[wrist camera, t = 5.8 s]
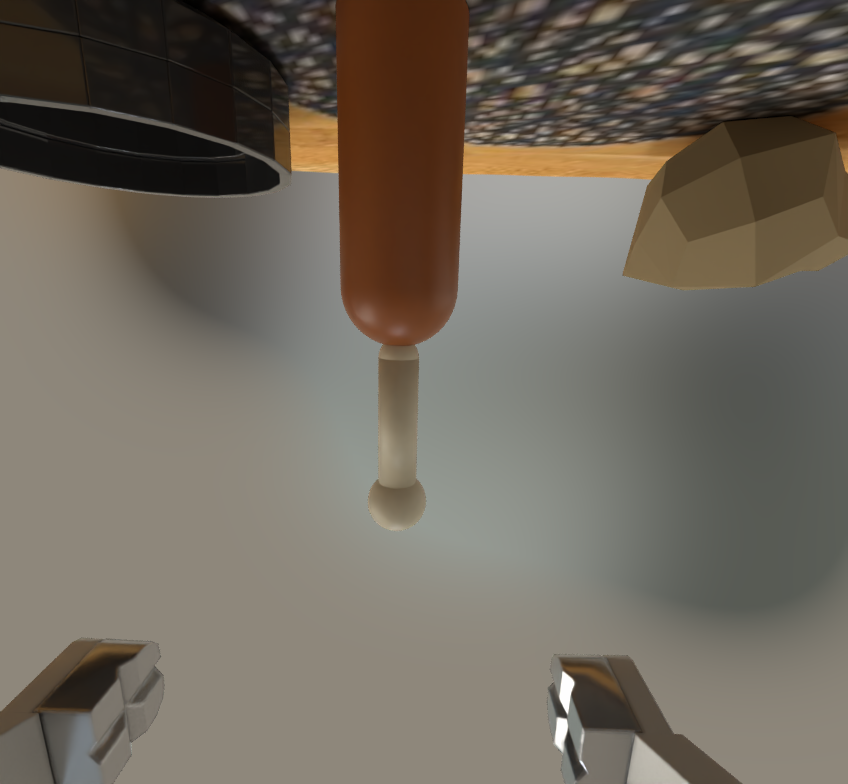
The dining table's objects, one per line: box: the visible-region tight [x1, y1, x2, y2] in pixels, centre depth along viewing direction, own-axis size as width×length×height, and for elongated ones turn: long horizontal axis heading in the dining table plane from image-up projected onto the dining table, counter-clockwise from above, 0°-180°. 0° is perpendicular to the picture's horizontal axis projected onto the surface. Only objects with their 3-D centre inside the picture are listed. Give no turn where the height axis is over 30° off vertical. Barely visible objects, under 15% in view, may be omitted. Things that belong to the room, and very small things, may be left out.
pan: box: [0, 0, 291, 198], centre depth 20 cm, size 15×15×4 cm
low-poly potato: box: [623, 116, 848, 290], centre depth 28 cm, size 15×11×12 cm
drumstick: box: [336, 0, 469, 531], centre depth 19 cm, size 5×5×21 cm
